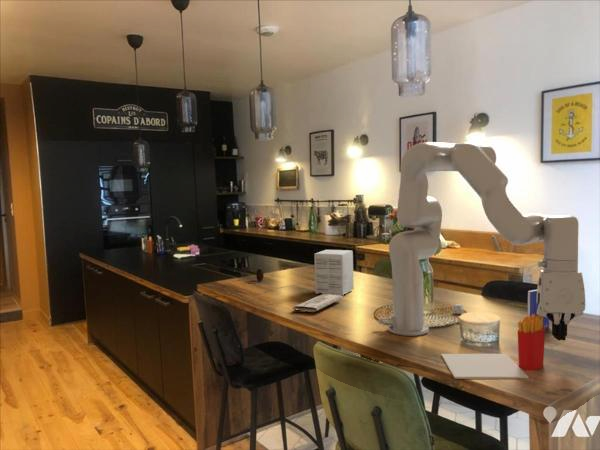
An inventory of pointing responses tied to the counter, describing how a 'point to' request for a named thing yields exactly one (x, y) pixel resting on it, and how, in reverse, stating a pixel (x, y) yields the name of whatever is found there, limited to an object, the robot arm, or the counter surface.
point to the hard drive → (535, 307)
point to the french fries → (531, 342)
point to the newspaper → (318, 302)
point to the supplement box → (334, 272)
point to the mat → (483, 366)
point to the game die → (457, 309)
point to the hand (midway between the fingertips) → (559, 338)
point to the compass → (259, 277)
